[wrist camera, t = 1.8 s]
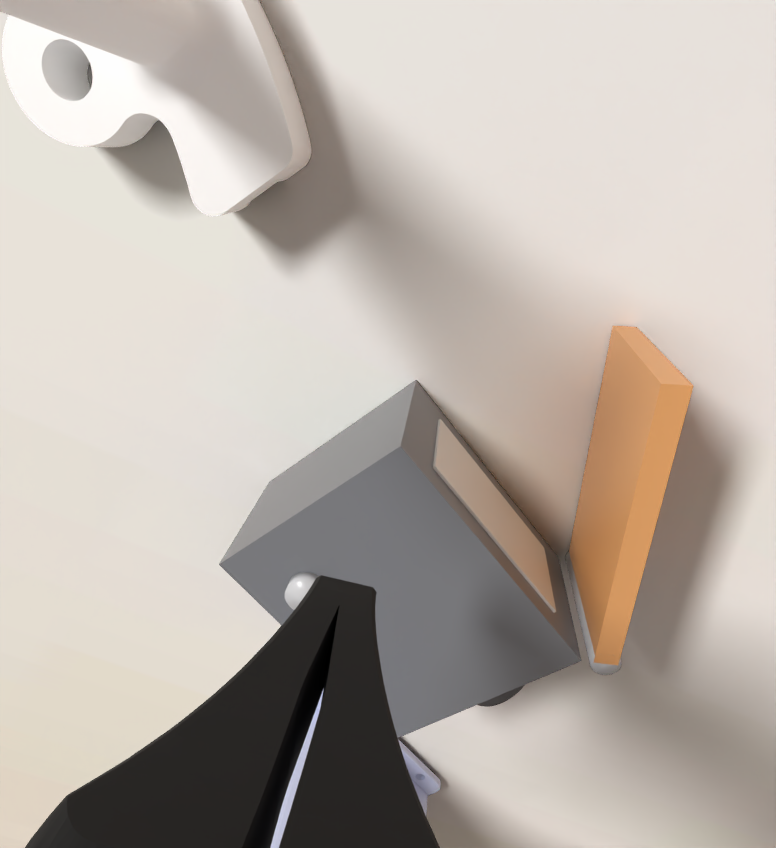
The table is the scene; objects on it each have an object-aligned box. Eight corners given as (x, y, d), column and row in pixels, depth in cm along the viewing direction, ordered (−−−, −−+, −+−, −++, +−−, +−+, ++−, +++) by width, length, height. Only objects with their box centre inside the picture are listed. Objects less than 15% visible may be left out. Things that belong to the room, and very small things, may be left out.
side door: (587, 568, 24) (618, 676, 19) (563, 566, 24) (587, 672, 19) (639, 327, 20) (697, 386, 15) (609, 325, 20) (657, 383, 15)
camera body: (579, 580, 25) (610, 699, 19) (429, 652, 28) (420, 772, 22) (418, 378, 22) (401, 452, 16) (269, 482, 25) (213, 574, 19)
